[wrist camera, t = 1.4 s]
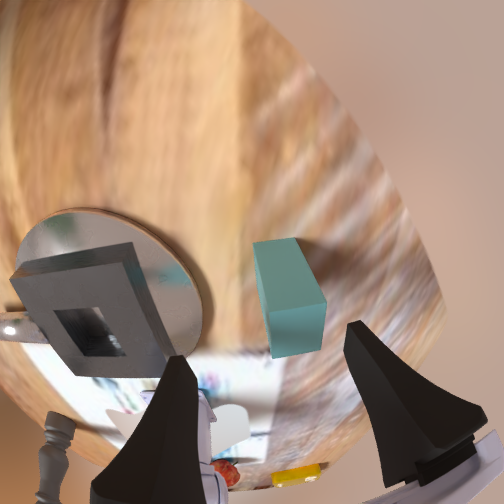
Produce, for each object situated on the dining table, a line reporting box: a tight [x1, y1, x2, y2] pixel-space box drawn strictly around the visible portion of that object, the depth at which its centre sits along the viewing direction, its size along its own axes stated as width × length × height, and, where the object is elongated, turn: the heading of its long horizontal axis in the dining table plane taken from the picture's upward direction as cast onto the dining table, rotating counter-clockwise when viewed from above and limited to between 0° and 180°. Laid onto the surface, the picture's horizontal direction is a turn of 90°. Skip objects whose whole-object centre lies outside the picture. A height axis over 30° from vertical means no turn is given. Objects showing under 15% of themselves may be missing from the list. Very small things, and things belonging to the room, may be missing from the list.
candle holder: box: [35, 411, 76, 504], centre depth 23 cm, size 6×6×25 cm
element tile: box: [271, 464, 321, 488], centre depth 63 cm, size 15×15×5 cm
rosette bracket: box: [0, 208, 203, 378], centre depth 19 cm, size 18×24×4 cm
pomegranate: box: [209, 459, 240, 487], centre depth 44 cm, size 7×7×10 cm
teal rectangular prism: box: [253, 238, 327, 359], centre depth 17 cm, size 4×3×7 cm
